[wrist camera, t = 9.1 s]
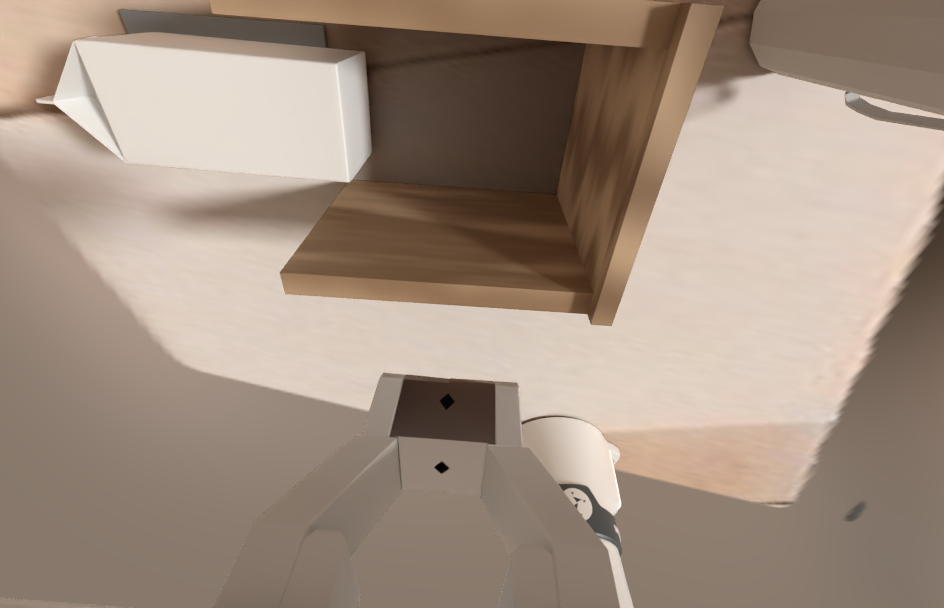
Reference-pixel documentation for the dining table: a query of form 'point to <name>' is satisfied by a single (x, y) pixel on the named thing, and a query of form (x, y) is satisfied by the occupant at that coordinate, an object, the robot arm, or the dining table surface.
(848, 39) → the water bottle
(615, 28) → the shelf bay
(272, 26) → the mat
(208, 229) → the dining table surface
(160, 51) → the milk carton
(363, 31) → the dining table surface
